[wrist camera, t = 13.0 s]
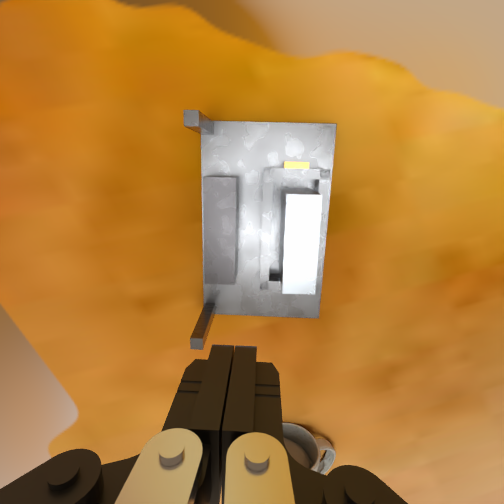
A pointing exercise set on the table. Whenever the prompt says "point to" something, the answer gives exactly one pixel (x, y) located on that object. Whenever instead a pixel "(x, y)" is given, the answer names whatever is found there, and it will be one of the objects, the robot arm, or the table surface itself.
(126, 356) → the table surface
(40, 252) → the table surface
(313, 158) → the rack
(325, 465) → the ceramic mug
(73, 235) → the table surface
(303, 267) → the grey rectangular block
